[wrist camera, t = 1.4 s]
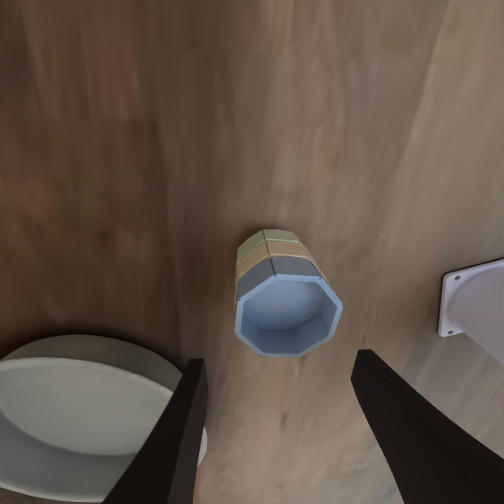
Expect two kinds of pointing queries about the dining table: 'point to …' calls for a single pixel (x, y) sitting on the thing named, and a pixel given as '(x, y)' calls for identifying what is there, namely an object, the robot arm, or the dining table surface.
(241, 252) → the celadon bowl
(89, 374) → the cake pan
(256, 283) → the blue bowl
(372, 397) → the robot arm
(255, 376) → the dining table surface
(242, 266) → the ivory bowl
